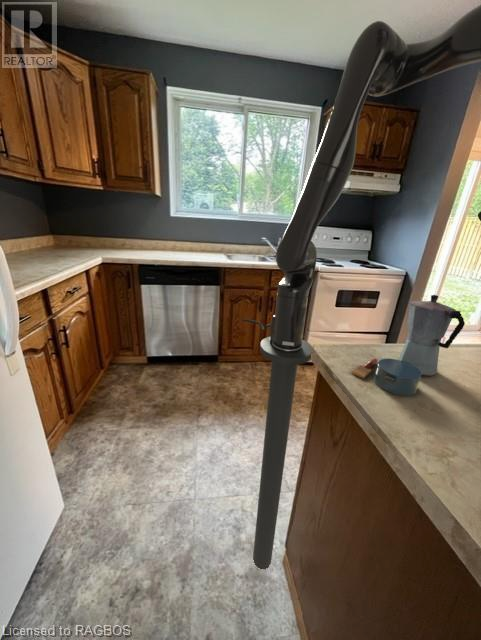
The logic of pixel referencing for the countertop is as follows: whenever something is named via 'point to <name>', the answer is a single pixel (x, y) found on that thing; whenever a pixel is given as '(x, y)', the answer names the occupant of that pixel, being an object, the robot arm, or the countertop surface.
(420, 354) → the moka pot
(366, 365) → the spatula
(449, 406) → the countertop surface
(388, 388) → the pot
